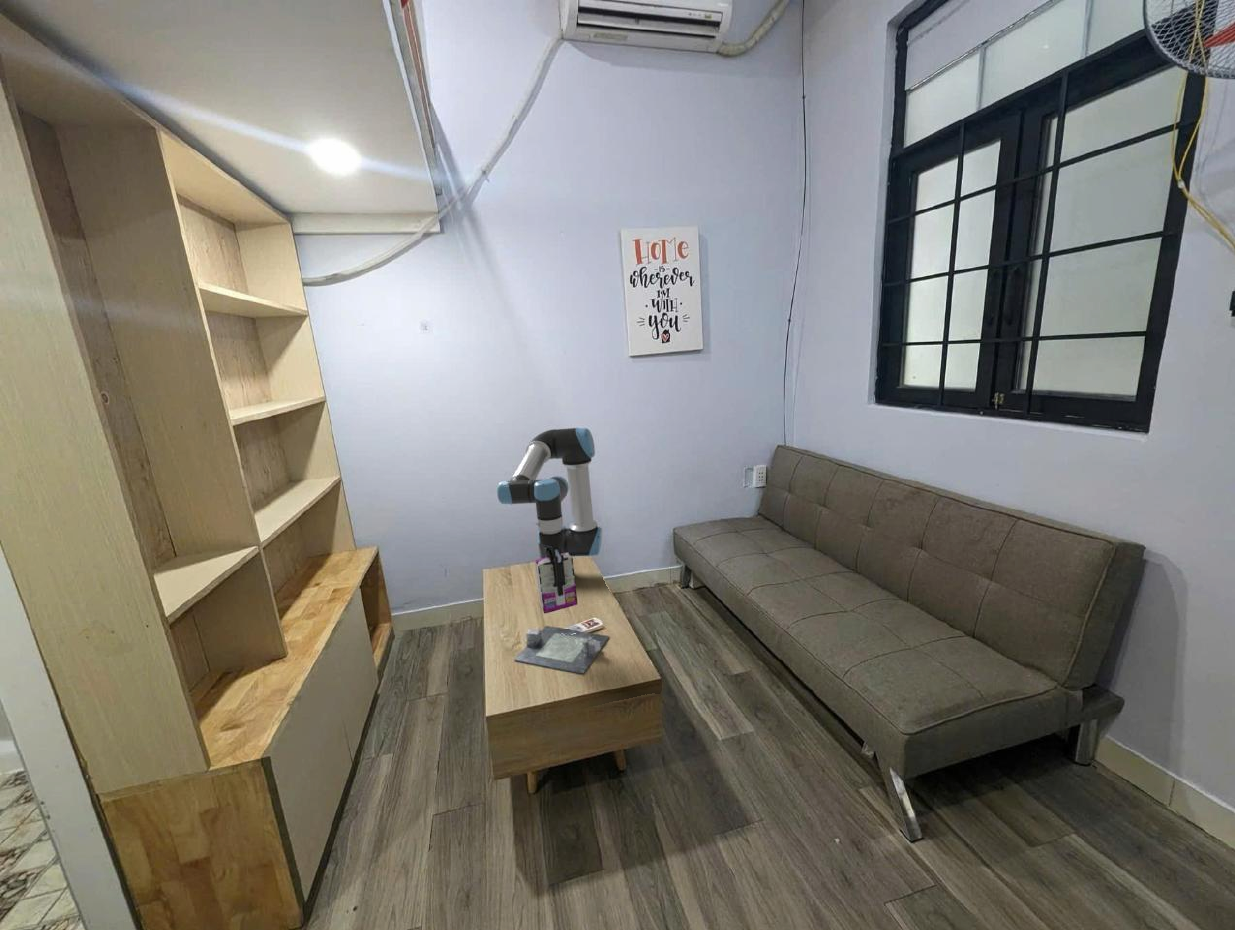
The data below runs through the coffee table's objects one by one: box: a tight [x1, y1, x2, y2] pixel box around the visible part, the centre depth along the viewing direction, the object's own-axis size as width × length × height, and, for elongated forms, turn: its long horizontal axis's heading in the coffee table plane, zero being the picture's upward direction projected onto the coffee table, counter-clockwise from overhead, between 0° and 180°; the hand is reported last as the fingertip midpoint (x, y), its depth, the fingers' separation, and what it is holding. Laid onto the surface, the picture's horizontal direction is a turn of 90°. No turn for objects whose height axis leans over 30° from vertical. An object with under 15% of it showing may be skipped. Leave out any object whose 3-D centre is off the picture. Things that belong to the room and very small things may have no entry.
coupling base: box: [513, 625, 610, 675], centre depth 155 cm, size 26×20×5 cm
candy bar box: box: [534, 552, 578, 615], centre depth 150 cm, size 11×5×16 cm, turn 114°
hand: (558, 599), depth 152 cm, fingers closed on candy bar box, 5 cm apart
